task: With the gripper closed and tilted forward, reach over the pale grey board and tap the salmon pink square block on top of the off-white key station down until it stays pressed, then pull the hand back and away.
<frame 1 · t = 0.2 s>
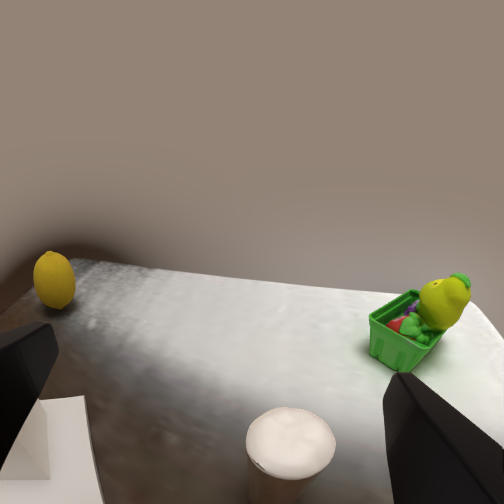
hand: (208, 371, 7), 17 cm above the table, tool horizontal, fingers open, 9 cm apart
lemon: (61, 310, 35), on the table
takeaway coffee cup: (267, 501, 17), on the table
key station: (17, 451, 16), on the table
fruit basket: (408, 353, 33), on the table
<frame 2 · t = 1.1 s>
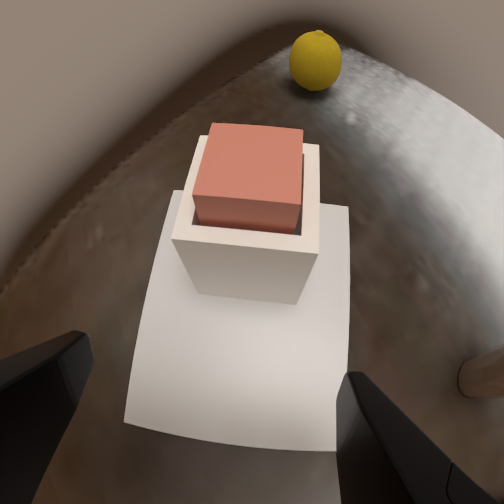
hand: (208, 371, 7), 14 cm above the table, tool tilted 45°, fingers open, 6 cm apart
lemon: (310, 91, 32), on the table
takeaway coffee cup: (467, 380, 19), on the table
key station: (252, 259, 23), on the table
salmon pink square block: (252, 179, 15), point 9 cm above the table, slide at 0.0 cm
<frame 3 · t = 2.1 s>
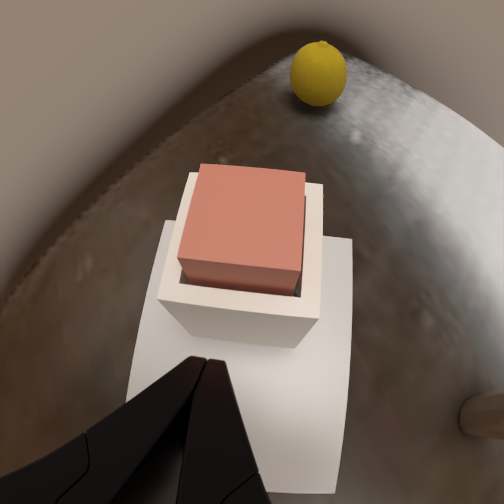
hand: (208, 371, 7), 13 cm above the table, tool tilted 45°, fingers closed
lemon: (313, 106, 31), on the table
takeaway coffee cup: (468, 417, 17), on the table
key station: (249, 297, 22), on the table
salmon pink square block: (246, 230, 13), point 9 cm above the table, slide at 0.0 cm
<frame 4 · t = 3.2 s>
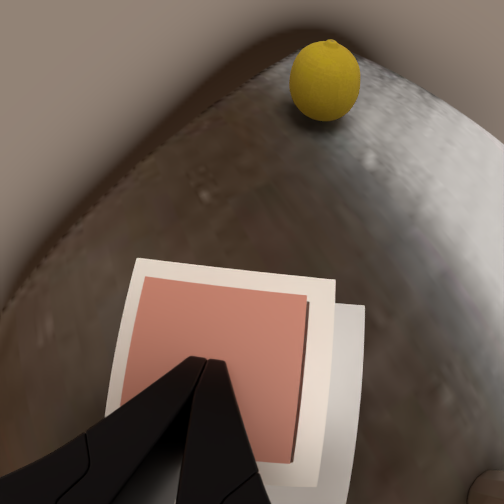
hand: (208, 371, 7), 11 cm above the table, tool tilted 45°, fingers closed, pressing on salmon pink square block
lemon: (317, 120, 26), on the table
takeaway coffee cup: (477, 492, 12), on the table
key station: (234, 382, 17), on the table
salmon pink square block: (217, 373, 9), point 9 cm above the table, slide at 0.5 cm, touching gripper
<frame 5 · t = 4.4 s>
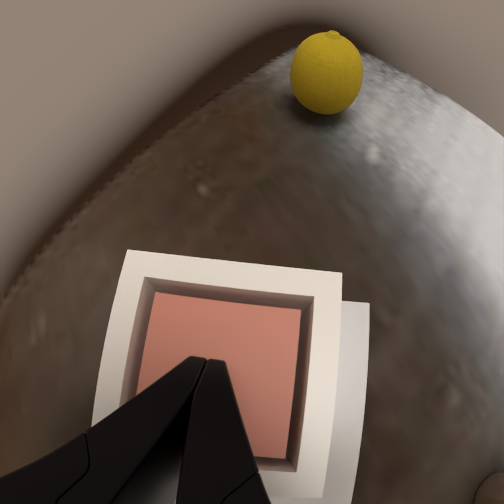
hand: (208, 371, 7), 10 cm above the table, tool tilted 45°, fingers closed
lemon: (319, 113, 25), on the table
takeaway coffee cup: (484, 495, 12), on the table
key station: (233, 383, 16), on the table
salmon pink square block: (220, 378, 10), point 7 cm above the table, slide at 2.5 cm
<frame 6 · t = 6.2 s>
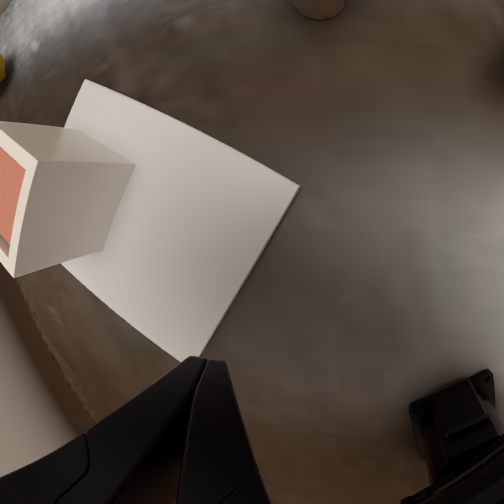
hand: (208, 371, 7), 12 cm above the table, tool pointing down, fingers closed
lemon: (6, 76, 23), on the table
takeaway coffee cup: (318, 7, 15), on the table
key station: (94, 187, 21), on the table
salmon pink square block: (21, 192, 15), point 7 cm above the table, slide at 2.5 cm
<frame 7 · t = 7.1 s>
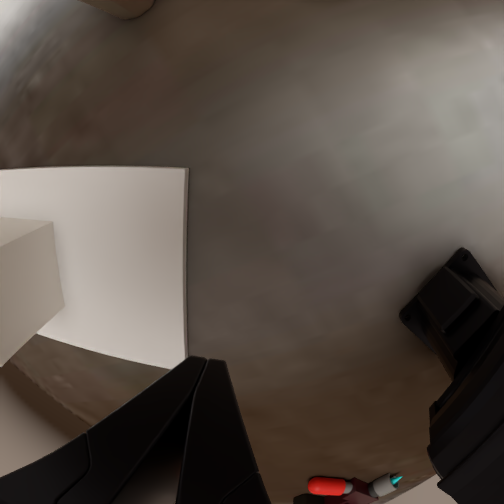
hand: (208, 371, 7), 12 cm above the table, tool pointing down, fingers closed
takeaway coffee cup: (136, 4, 14), on the table
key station: (34, 257, 21), on the table
toy gun: (342, 481, 28), on the table
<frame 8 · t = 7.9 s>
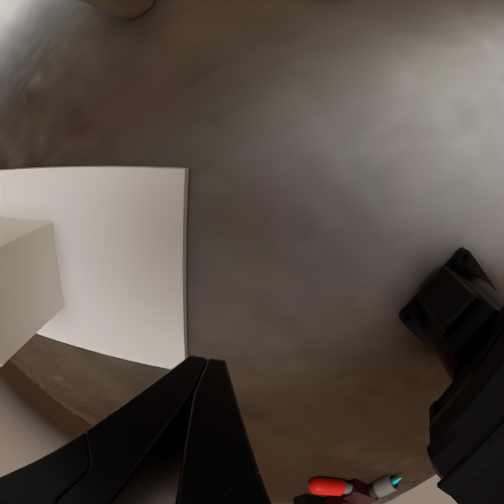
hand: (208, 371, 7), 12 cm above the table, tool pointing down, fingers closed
takeaway coffee cup: (136, 4, 14), on the table
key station: (34, 257, 21), on the table
toy gun: (342, 482, 28), on the table
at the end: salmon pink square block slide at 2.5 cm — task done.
